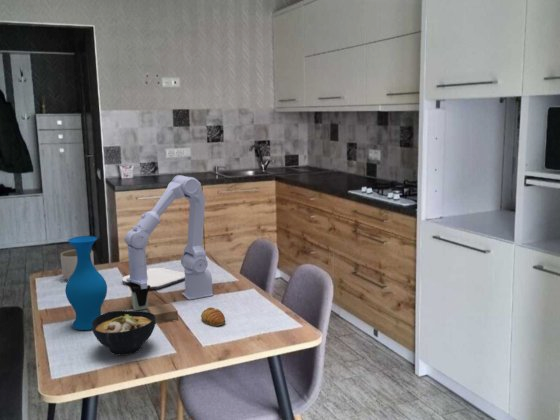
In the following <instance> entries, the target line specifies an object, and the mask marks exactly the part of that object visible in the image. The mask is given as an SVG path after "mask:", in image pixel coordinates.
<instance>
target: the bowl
mask: <svg viewBox="0 0 560 420" xmlns="http://www.w3.org/2000/svg"><path fill="white" fill-rule="evenodd" d="M155 322H156V320H155V315H154V314H152V313H148V311H147V312H146V311H141V310H136V311H135V310H115V311H114V310H113V311H108V312H105V313H101V315H100V316H98V317H96V318H95V319H94V320H93V323H92V332H93V334H94V336H95V338H96V340H97V341H98V342H99V343H100V344H101V345H102V346H103V347H105V348H106V349H108V350H109V351H110V353H111V354H112V355H115V356H128V355H132V354H135V353H137V352H140V351H141V349H142V347H143V345H144V344H145V343H146V342H147V341H148V340H149V338H150V337H151V336H152V334H153V331H154V329H155V327H156V324H155Z"/></svg>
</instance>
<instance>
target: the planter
mask: <svg viewBox="0 0 560 420" xmlns="http://www.w3.org/2000/svg"><path fill="white" fill-rule="evenodd" d="M59 258H60V264H61V265H60V266H61V273H62V275H63V277H64V279H66V280H67V281H68V280H69V278H70V277H71V275H72V274H73V272H74V270H75V268H76V265H77V252H76V250H75V248H74V249H69V250H66V251H62V252H61V253H60V257H59ZM91 261H92V264H93V266H94V267H95V261H94V250H92V249H91Z"/></svg>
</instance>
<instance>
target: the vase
mask: <svg viewBox="0 0 560 420" xmlns="http://www.w3.org/2000/svg"><path fill="white" fill-rule="evenodd" d="M97 240H98V237H97V236H92V235H83V236H74V237H71V238H68V239H67V242H68V243H69V244H71V246H72V247H73V248H74V249H75V250H76V252H77V265H76V268H75V270H74V272H73V274H72V275H71V277H70V278H69V280H67V282H66V285H65V291H64V292H65V295H66V298H67V301H68V303H69V304H70V305H71V306H72V309H73V310H74V313H75V320H73V323H72V328H73V329H75V330H79V331H91V330H92V331H93V329H92V323H93V320H94V319H95V318H96V317H98V316H100V315H102V312H101V311H102V306H103V304H104V302H105V299H106V298H107V292H108V284H107V282H106V280H105V278H104V276H102V274H101V273H100V272H99V271H98V270H97V269H96V268H95V265H94V266H93V264H92V261H91V250H92V248H93V245H94V244H95V242H96V241H97Z"/></svg>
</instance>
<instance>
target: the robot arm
mask: <svg viewBox="0 0 560 420" xmlns="http://www.w3.org/2000/svg"><path fill="white" fill-rule="evenodd" d="M203 191H204V190H203V189H202V183H201V182H200V181H199V180H198V179H197V178H195V177H193V176H186V175H185V176H184V175H182V174H177V175H176V176H174V177H173V178H172V180H171V181H170V182H169V183H168V185H167V187H166V189H165V191H164V192H163V194H162V195H161V196H160V198H159V200H158V201H157V203H156V204H155V205H154V206H153V208H152V210H149V211H146V212H145V213H142V214H141V215H140V217H141V218H140V219H139V220H138V221H137V223H136V224H135V225H133V227H132V229H130V230H129V231H127V233H126V235H125V237H124V242H125V244H126V245H127V254H128V271H129V275H130V278H127V279H126V281H127V282H128V284H127V285H129V287H130V289H131V293H133V292H135V293H136V297H137V301H138V305H139V306H145V304H146V299H147V294H148V295H149V291H150V290H151V289H150V285H147V280H148V276H147V269H148V268H147V253H146V246H147V245H148V243H149V237H150V236H151V234H153V232H154V231H155V229H156V228H157V227H158V225H159V224H160V223H161V216H162V215H163V213H165V211H166V210H167V209H168V207H169V206H170V205H172V204H173V202H174V201H175V200H178V199H182V198H185V199H186V200H187V201H188V203H189V209H188V223H187V224H188V226H187V227H188V228H187V243H186V246H185V247H184V248H183V253H182V255H181V258H180V264H181V266H182V267H183V268H184V272H183V273H185V279H184V292H183V291H181V294H182V296H183V297H184V298H186V299H188V300H190V301H191V300H194V299H195V300H196V299H201V298H207V297H212V296H214V293H213V277H212V273H211V271H210V270H208V269H207V268H208V260H207V253H206V250H205V248H204V247H203V244H204V243H203V241H204V240H203V239H204V222H205V211H206V196H205V194H204V192H203Z"/></svg>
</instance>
